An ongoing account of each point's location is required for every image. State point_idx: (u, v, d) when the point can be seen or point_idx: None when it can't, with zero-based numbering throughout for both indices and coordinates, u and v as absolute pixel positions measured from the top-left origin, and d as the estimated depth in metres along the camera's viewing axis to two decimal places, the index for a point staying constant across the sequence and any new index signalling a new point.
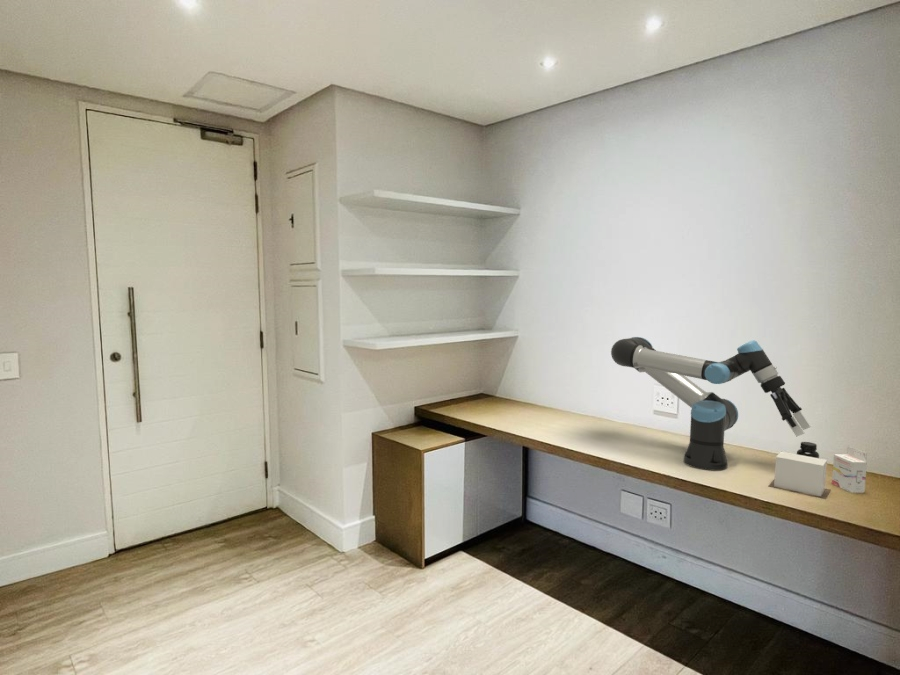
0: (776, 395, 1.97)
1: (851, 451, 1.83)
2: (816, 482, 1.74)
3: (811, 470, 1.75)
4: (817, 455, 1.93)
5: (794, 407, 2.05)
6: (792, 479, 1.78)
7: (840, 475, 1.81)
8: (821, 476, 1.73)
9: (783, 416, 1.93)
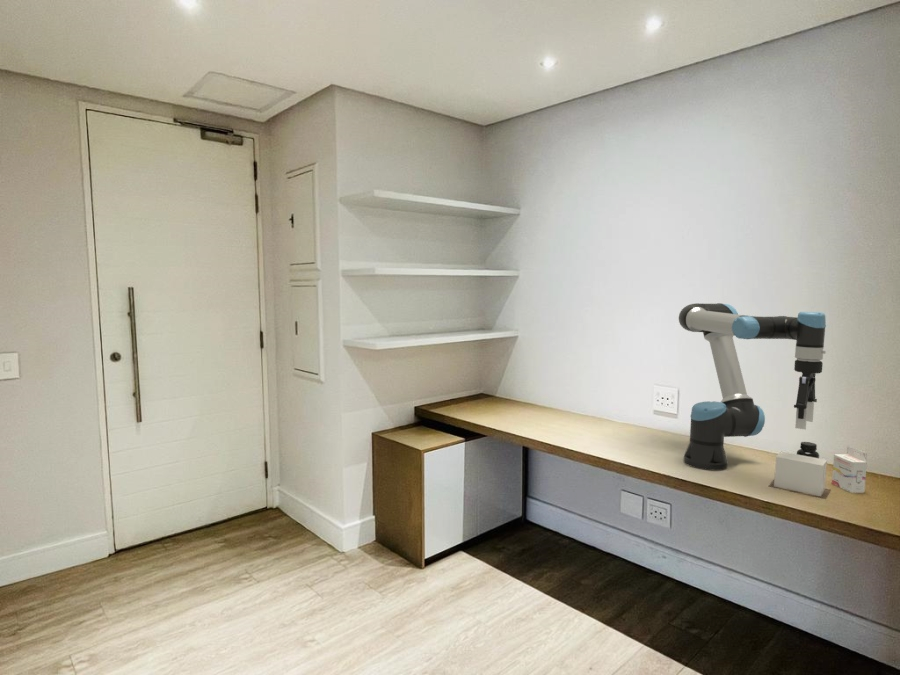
0: (805, 381, 1.72)
1: (851, 451, 1.83)
2: (816, 482, 1.74)
3: (811, 470, 1.75)
4: (817, 455, 1.93)
5: (811, 396, 1.82)
6: (792, 479, 1.78)
7: (840, 475, 1.81)
8: (821, 476, 1.73)
9: (798, 404, 1.71)
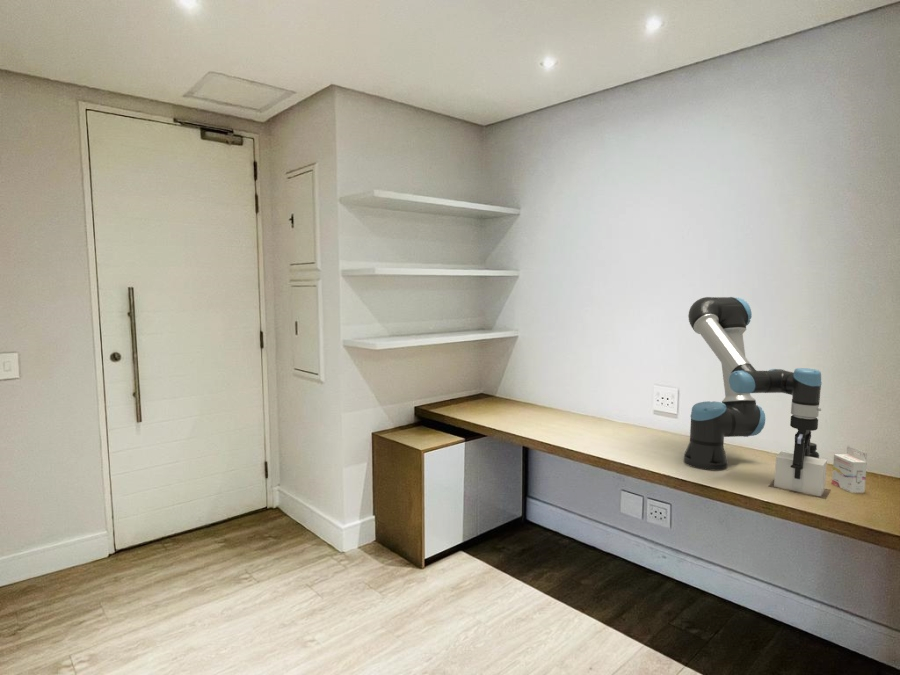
0: (801, 442, 1.74)
1: (851, 451, 1.83)
2: (816, 482, 1.74)
3: (811, 470, 1.75)
4: (817, 455, 1.93)
5: (805, 455, 1.82)
6: None
7: (840, 475, 1.81)
8: (821, 476, 1.73)
9: (794, 465, 1.75)
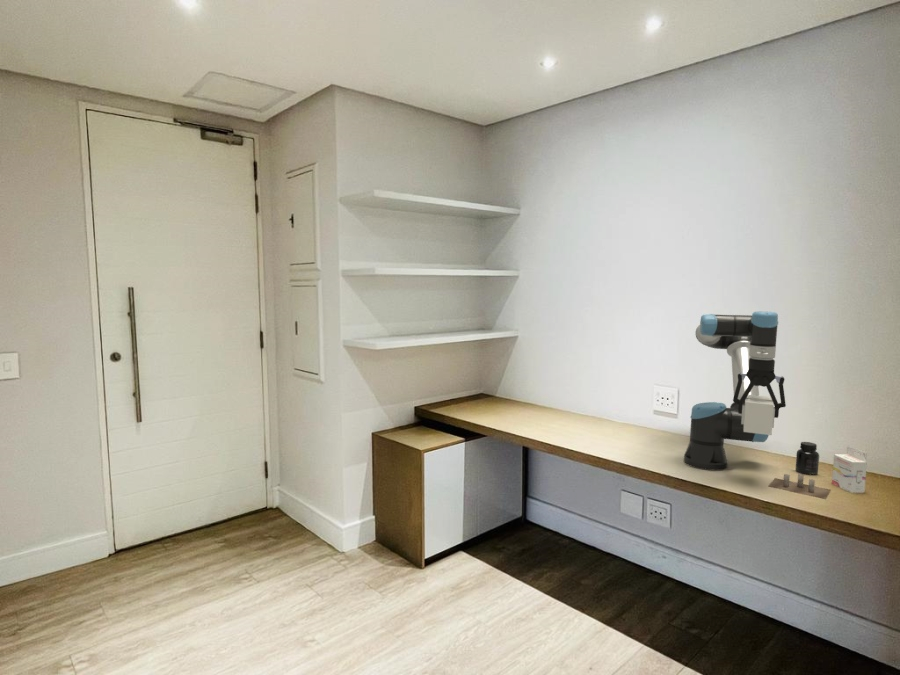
0: (737, 377, 1.86)
1: (851, 451, 1.83)
2: None
3: None
4: (817, 455, 1.93)
5: (772, 400, 1.82)
6: None
7: (840, 475, 1.81)
8: None
9: None
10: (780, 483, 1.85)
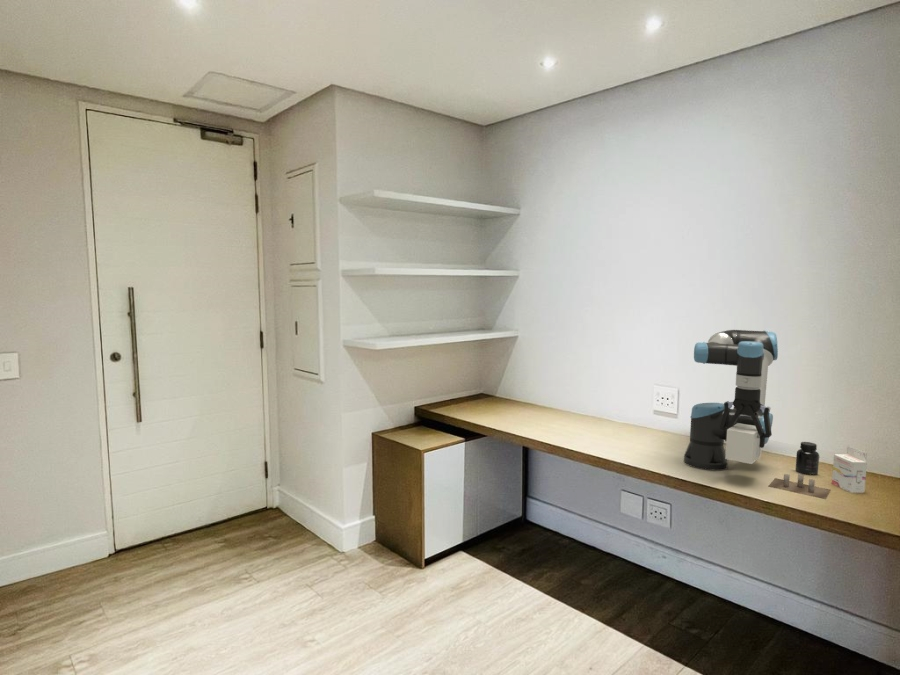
0: None
1: (851, 451, 1.83)
2: None
3: None
4: (817, 455, 1.93)
5: None
6: None
7: (840, 475, 1.81)
8: None
9: None
10: (780, 483, 1.85)
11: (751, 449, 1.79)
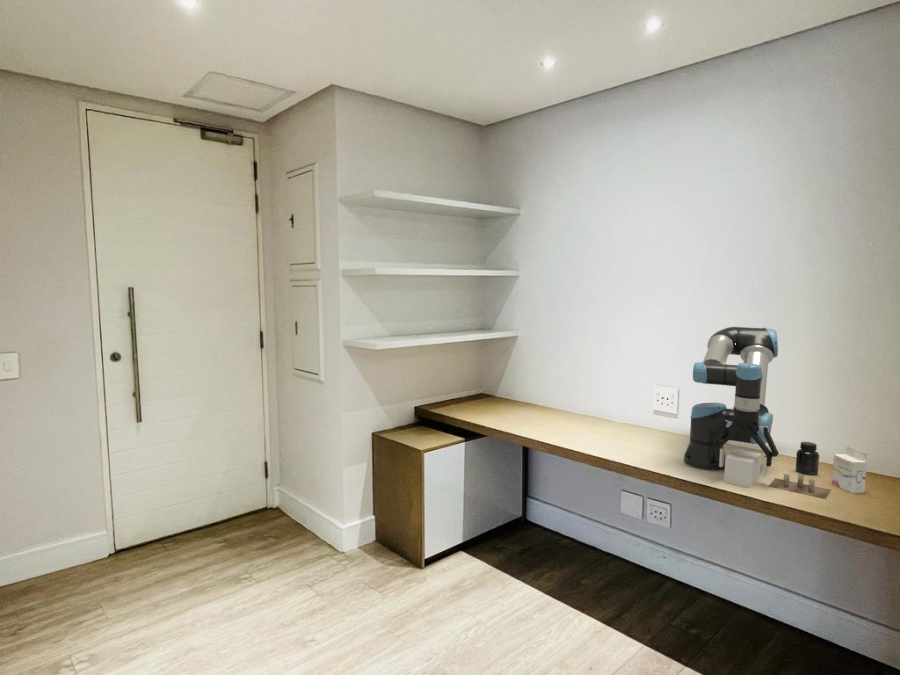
0: None
1: (851, 451, 1.83)
2: None
3: None
4: (817, 455, 1.93)
5: None
6: None
7: (840, 475, 1.81)
8: (725, 467, 1.85)
9: None
10: (780, 483, 1.85)
11: (749, 477, 1.80)
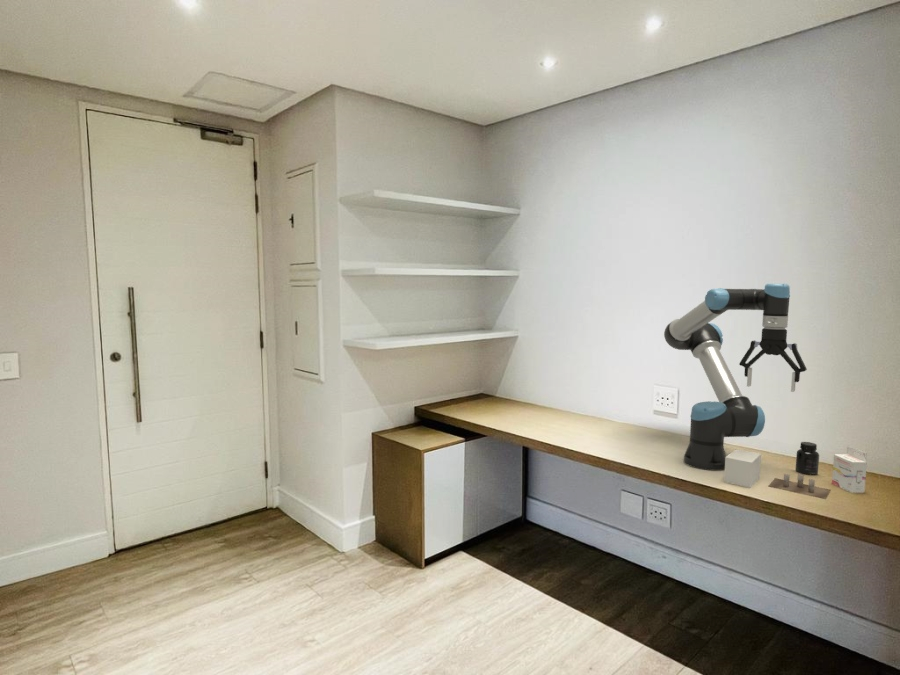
0: None
1: (851, 451, 1.83)
2: None
3: None
4: (817, 455, 1.93)
5: None
6: None
7: (840, 475, 1.81)
8: (725, 467, 1.85)
9: None
10: (780, 483, 1.85)
11: (749, 477, 1.80)
